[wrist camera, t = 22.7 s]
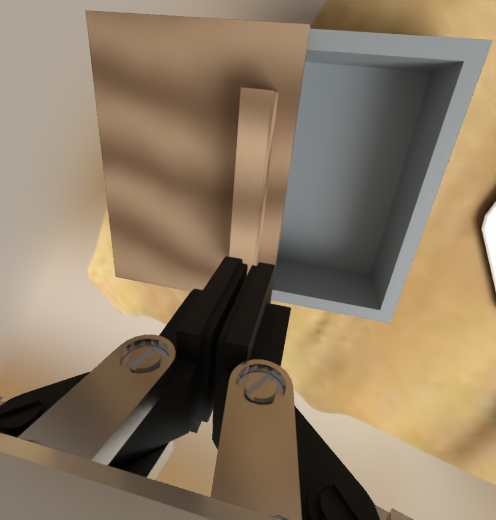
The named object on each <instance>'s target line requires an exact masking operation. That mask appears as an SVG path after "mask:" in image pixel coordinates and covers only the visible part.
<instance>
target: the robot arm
mask: <svg viewBox="0 0 496 520" xmlns="http://www.w3.org/2000/svg"><path fill="white" fill-rule="evenodd" d="M247 270H248V265H247V264H244V263H243V260H242V259H240V258H235V257H229V256H225V258H224V259H223V261H222V262H221V264H220V265H219V267H218V268H217V270H216V271H215V273H214V274H213V276H212V277H211V279H210V280H209V282H208V283H207V285H206V286H205V288H204V289H203V290H200V289H196V288H195V289H193V290H192V291H191V292H190V294H189V295H188V296H187V298H186V299H185V300H184V302H183V303H182V305H181V306H180V307H179V309H178V310H177V311H176V313H175V314H174V316H173V317H172V318H171V320H170V321H169V323H168V324H167V325H166V327H165V328H164V330H163V331H162V332H161V334H160V335H159V336H157V335H142V336H137V337H134V338H132V339H129V340H127V341H126V342H124V343H123V344H121V345H120V346H119V347H118V348H117V349H115V350H114V351H113V352H112V353H111V354H110V355H109V356H108V357H107V358H105V359H104V360H103V361H102V362H101V363H100V364H99V365H98V366H97V367H96V368H94V369H93V370H92V371H91V372H88V373H85V374H81V375H78V376H75V377H72V378H69V379H66V380H63V381H60V382H58V383H54V384H51V385H48V386H45V387H42V388H39V389H36V390H33V391H30V392H27V393H24V394H21V395H19V396H16V397H14V398H12V399H10V400H8V401H7V402H6V401H5V398H4V397H0V520H413V519H412V518H410V517H408V516H406V515H404V514H402V513H400V512H398V511H396V510H395V509H391V511H390V512H387V511H385V510H383V509H381V508H380V507H378V506H376V505H374V503H373V501H372V500H371V498H370V497H369V495H368V494H367V492H366V491H365V490H364V488H363V487H362V486H361V485H360V483H359V482H358V481H357V480H356V479H355V478H354V476H353V475H352V474H351V473H350V471H349V470H348V469H347V468H346V467H345V465H344V464H343V463H342V462H341V461H340V459H339V458H338V457H337V456H336V455H335V453H334V452H333V451H332V450H331V449H330V448H329V446H328V445H327V444H326V443H325V441H323V439H322V438H321V437H320V435H319V434H318V433H317V432H316V431H315V429H314V428H313V427H312V426H311V425H310V424H309V422H308V421H307V420H306V419H305V418H304V416H303V415H302V414H301V413H300V412H299V410H298V409H297V408H296V407H295V405H294V393H293V384H292V381H291V378H290V377H289V375H288V373H287V372H286V371H285V370H284V369H283V368H281V361H282V356H283V350H284V344H285V339H286V333H287V328H288V322H289V316H290V311H291V308H290V307H285V306H280V305H275V304H270V302H271V295H272V288H273V281H274V275H275V265H273V264H268V263H262V262H259V263H258V265H257V266H255V265H252V266H251V268H250V270H249V272H248V275H247ZM212 410H213V434H212V440H213V442H214V444H215V446H216V447H217V449H218V453H217V460H216V466H215V472H214V478H213V485H212V491H211V497H207V496H204V495H201V494H197V493H195V492H191V491H188V490H185V489H182V488H178V487H175V486H172V485H169V484H165V483H162V482H159V481H156V480H155V479H156V478H157V476H158V474H159V473H160V471H161V469H162V468H163V466H164V465H165V463H166V462H167V460H168V458H169V457H170V455H171V453H172V452H173V450H174V448H175V446H176V443H177V438H178V437H181V436H183V435H185V434H187V433H188V432H189V431H191V432H195V433H197V431H198V429H199V426H200V424H201V421H204V422H208V421H209V418H210V416H211V413H212Z"/></svg>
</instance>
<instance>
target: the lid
mask: <svg viewBox="0 0 496 520" xmlns="http://www.w3.org/2000/svg"><path fill="white" fill-rule="evenodd" d="M86 19H87V27H88V36H89V45H90V54H91V63H92V72H93V81H94V89H95V98H96V107H97V116H98V125H99V134H100V142H101V151H102V160H103V169H104V178H105V186H106V195H107V204H108V213H109V222H110V231H111V240H112V248H113V257H114V266H115V275H116V277H119V278H124V279H129V280H134V281H139V282H144V283H149V284H154V285H159V286H164V287H169V288H174V289H179V290H184V291H189V292H191V291H192V290H193V289H195V288H196V289H200V290H203V289H204V288H205V286H206V285H207V283H208V282H209V280H210V279H211V277H212V276H213V274H214V273H215V271H216V270H217V268H218V267H219V265H220V264H221V262H222V261H223V259H224V258H225V256H229V257H235V258H240V259H242V260H243V263H244V264H247V265H248V270H247V275H248V272H249V270H250V268H251V266H252V265H255V266H257V265H258V263H259V262H262V263H268V264H273V265H275V268H276V261H277V254H278V247H279V240H280V233H281V226H282V219H283V213H284V206H285V199H286V192H287V185H288V178H289V171H290V164H291V158H292V151H293V144H294V137H295V130H296V123H297V116H298V109H299V103H300V96H301V89H302V82H303V75H304V68H305V61H306V54H307V47H308V41H309V34H310V24H299V23H283V22H266V21H249V20H232V19H217V18H200V17H183V16H167V15H150V14H133V13H117V12H101V11H86Z"/></svg>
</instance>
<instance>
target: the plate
mask: <svg viewBox="0 0 496 520" xmlns="http://www.w3.org/2000/svg"><path fill="white" fill-rule="evenodd" d="M481 231H482V235H483V239H484V244H485V248H486V252H487V257H488V261H489V266H490V270H491V274H492V279H493V283H494V288H495V292H496V200H495V201H494V203H493V204H492V205H491V207H490V208H489V209H488V211H487V212H486V213H485V215H484V218H483V222H482V225H481Z"/></svg>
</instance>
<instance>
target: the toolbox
mask: <svg viewBox="0 0 496 520" xmlns="http://www.w3.org/2000/svg"><path fill="white" fill-rule="evenodd" d="M491 43H492V40H484V39H468V38H452V37H436V36H420V35H404V34H388V33H372V32H356V31H340V30H324V29H310V34H309V41H308V47H307V54H306V61H305V68H304V75H303V82H302V89H301V96H300V103H299V109H298V116H297V123H296V130H295V137H294V144H293V151H292V158H291V164H290V171H289V178H288V185H287V192H286V199H285V206H284V213H283V219H282V226H281V233H280V240H279V247H278V254H277V261H276V268H275V275H274V281H273V288H272V295H271V300H273V301H278V302H283V303H288V304H294V305H299V306H304V307H309V308H314V309H319V310H324V311H329V312H334V313H340V314H345V315H350V316H355V317H360V318H365V319H370V320H375V321H380V322H385V323H390V322H391V319H392V317H393V314H394V311H395V308H396V305H397V303H398V300H399V297H400V294H401V292H402V289H403V286H404V283H405V281H406V278H407V275H408V272H409V270H410V267H411V264H412V261H413V258H414V256H415V253H416V250H417V247H418V245H419V242H420V239H421V236H422V234H423V231H424V228H425V225H426V223H427V220H428V217H429V214H430V211H431V209H432V206H433V203H434V200H435V198H436V195H437V192H438V189H439V187H440V184H441V181H442V178H443V176H444V173H445V170H446V167H447V165H448V162H449V159H450V156H451V153H452V151H453V148H454V145H455V142H456V140H457V137H458V134H459V131H460V129H461V126H462V123H463V120H464V118H465V115H466V112H467V109H468V106H469V104H470V101H471V98H472V95H473V93H474V90H475V87H476V84H477V82H478V79H479V76H480V73H481V71H482V68H483V65H484V62H485V59H486V57H487V54H488V51H489V48H490V46H491Z"/></svg>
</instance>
